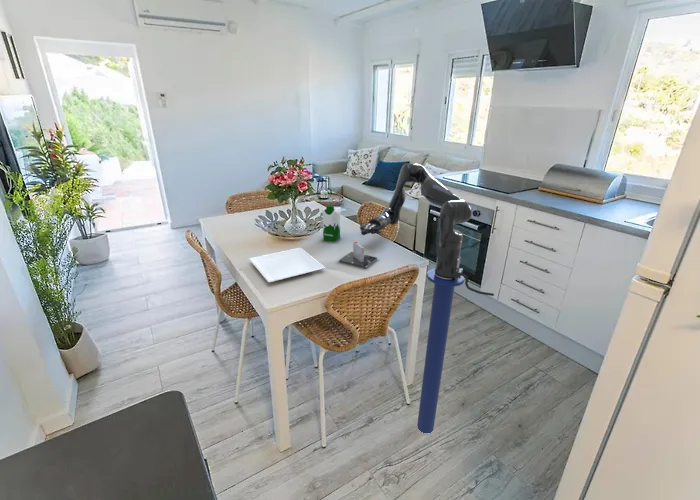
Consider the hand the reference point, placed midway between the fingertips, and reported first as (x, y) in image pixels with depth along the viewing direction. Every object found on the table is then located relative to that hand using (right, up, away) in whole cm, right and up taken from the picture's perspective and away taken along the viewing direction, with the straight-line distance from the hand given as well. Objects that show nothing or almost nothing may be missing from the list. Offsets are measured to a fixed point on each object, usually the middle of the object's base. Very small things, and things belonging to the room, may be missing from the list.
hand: (362, 233), depth 170 cm
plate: (-35, -16, -13) cm, 41 cm away
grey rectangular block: (-2, -12, -6) cm, 14 cm away
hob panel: (-2, -14, -5) cm, 15 cm away
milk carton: (-16, -3, +21) cm, 27 cm away
